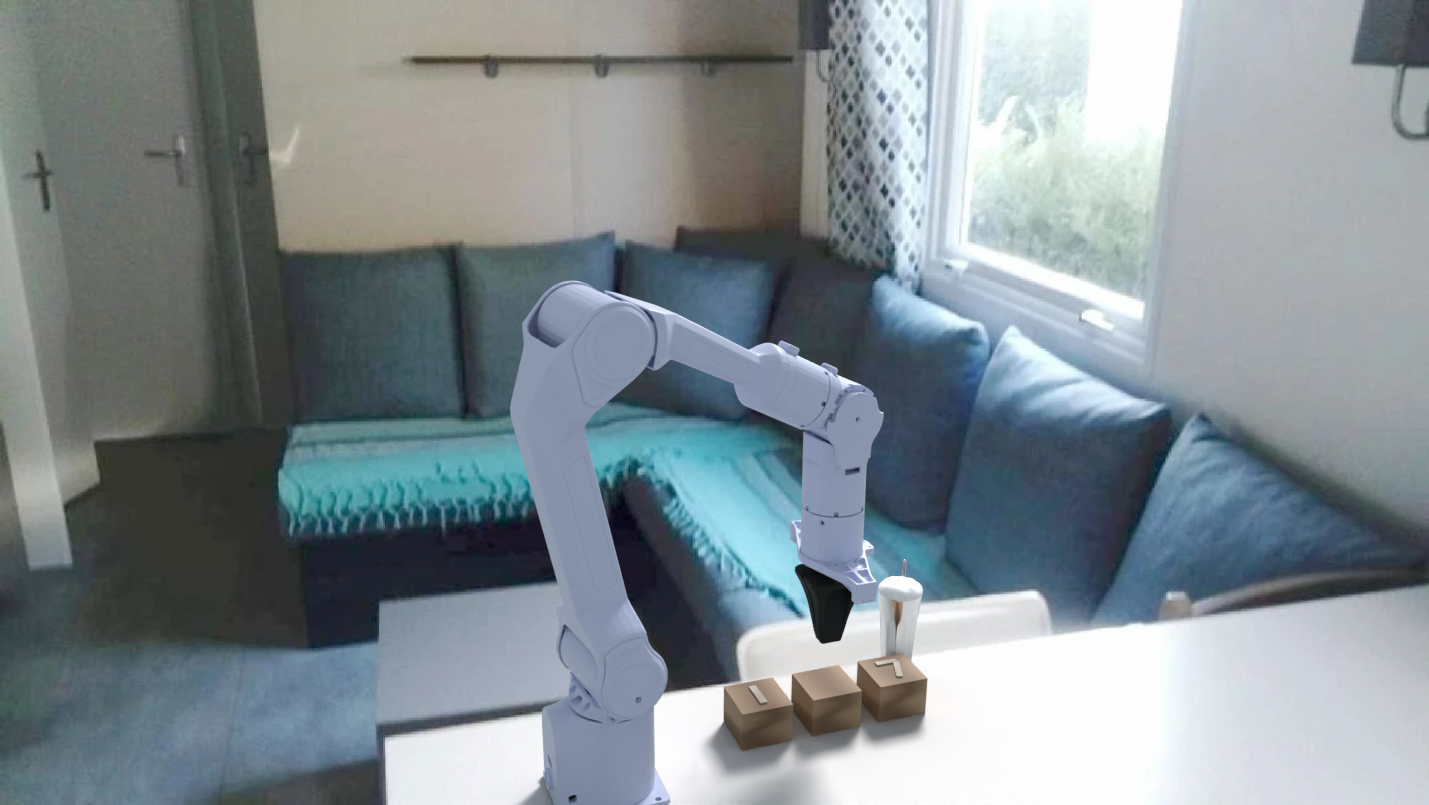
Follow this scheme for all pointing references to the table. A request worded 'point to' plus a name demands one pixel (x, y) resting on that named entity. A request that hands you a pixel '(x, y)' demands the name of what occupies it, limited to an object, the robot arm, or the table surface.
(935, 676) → the table surface
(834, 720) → the blank block
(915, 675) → the digit block seven
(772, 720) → the digit block one
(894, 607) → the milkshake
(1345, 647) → the table surface
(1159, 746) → the table surface
